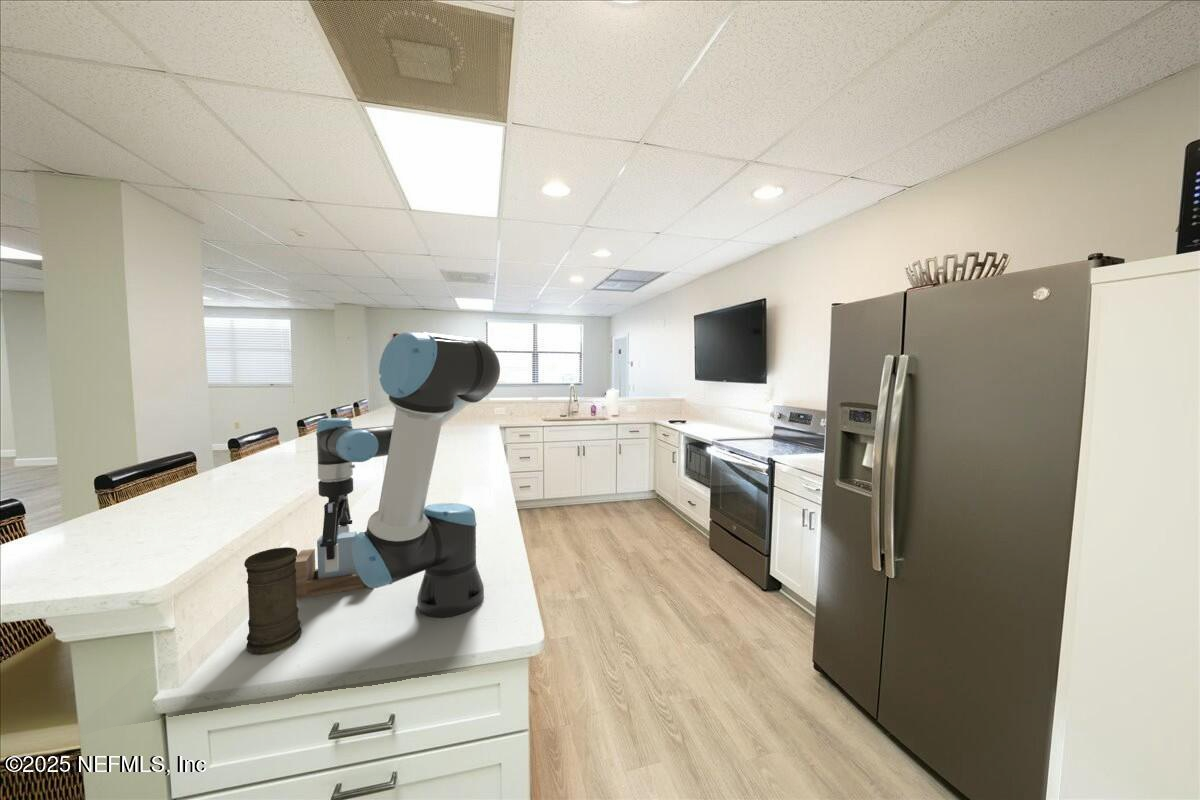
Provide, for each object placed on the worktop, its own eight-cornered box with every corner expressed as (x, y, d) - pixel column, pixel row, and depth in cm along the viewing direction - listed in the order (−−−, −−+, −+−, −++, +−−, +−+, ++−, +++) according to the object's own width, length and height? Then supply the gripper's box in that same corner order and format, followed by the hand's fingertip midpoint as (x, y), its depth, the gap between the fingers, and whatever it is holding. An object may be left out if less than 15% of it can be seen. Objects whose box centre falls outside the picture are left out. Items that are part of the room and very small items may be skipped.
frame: (375, 586, 107) (375, 551, 107) (292, 599, 101) (291, 562, 100) (379, 572, 115) (379, 540, 114) (302, 584, 108) (301, 550, 108)
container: (291, 651, 82) (288, 561, 81) (236, 659, 79) (232, 567, 78) (309, 625, 90) (306, 543, 89) (259, 632, 88) (256, 548, 87)
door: (355, 582, 107) (353, 536, 107) (318, 587, 104) (317, 541, 104) (357, 575, 111) (356, 531, 110) (322, 580, 108) (321, 535, 107)
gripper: (342, 489, 96) (344, 578, 97) (361, 467, 119) (362, 540, 120) (303, 492, 93) (306, 584, 94) (330, 469, 117) (332, 543, 118)
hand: (338, 559), depth 107 cm, fingers open, 13 cm apart
